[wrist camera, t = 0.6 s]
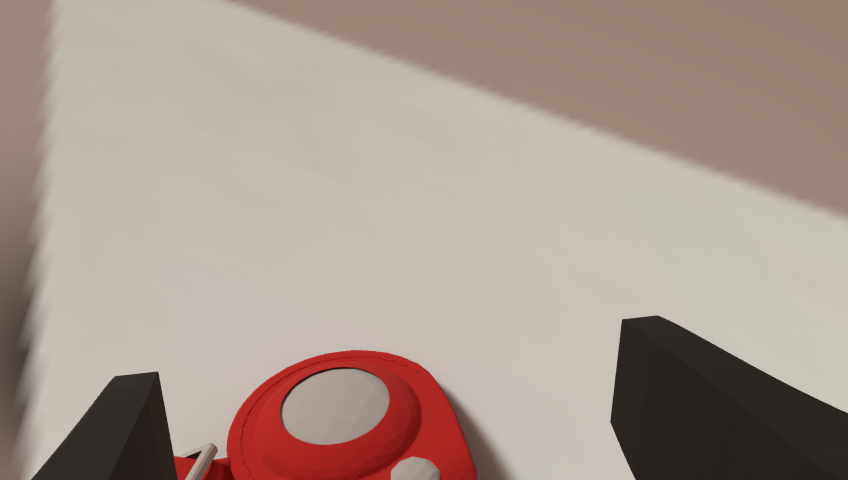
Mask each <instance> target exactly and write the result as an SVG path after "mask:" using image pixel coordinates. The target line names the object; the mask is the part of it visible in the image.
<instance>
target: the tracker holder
mask: <svg viewBox="0 0 848 480" xmlns="http://www.w3.org/2000/svg"><path fill="white" fill-rule="evenodd" d="M217 451H218V450H217V447H216V446H215V445H214V444H212V443H209V444H207V445H205V446H202V447H200V448H198V449H195V450H193V451H191V452H188V453H186V454H184V455H181V456H179V457H177V456H174V460H175V466H176V471H177V477H178V480H477V473H476V469H475V466H474V463H473V459H472V456H471V453H470V450H469V448H468V445H467V443H466V440H465V438H464V435H463V432H462V430H461V427H460V424H459V422H458V419H457V416H456V414H455V412H454V410H453V408H452V406H451V404H450V402H449V400H448V398H447V396H446V395H445V393H444V391H443V390H442V388H441V387H440V385H439V384H438V383H437V381H436V380H435V379H434V378H433V376H432V375H431V374H430V373H429V372H428V371H427V370H426V369H424V368H423V367H422V366H420V365H419V364H417V363H415V362H413V361H410V360H408V359H406V358H404V357H400V356H397V355H393V354H390V353H384V352H376V351H363V350H351V351H342V352H334V353H328V354H324V355H319V356H316V357H313V358H309V359H306V360H304V361H301V362H299V363H297V364H294V365H292V366H290V367H287V368H286V369H284V370H282V371H281V372H279V373H277V374H276V375H274V376H273V377H271V378H269V379H268V380H267V381H265V382H264V383H263V384H262V385H260V386H259V387H258V388H257V389H256V390H255V391H254V392H253V393H252V394H251V395H250V396H249V397H248V398H247V400H246V401H245V402H244V403H243V405H242V406H241V407H240V409H239V410H238V412H237V414H236V416H235V418H234V420H233V422H232V425H231V427H230V430H229V434H228V439H227V456H228V458H223V459H215V460H213V458H214V457H215V455H216V453H217Z"/></svg>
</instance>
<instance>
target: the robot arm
mask: <svg viewBox="0 0 848 480" xmlns="http://www.w3.org/2000/svg"><path fill="white" fill-rule="evenodd" d="M610 422H611V425H612V427H613V429H614V432H615V434H616V437H617V439H618V441H619V444H620V446H621V449H622V451H623V453H624V456H625V458H626V460H627V462H628V464H629V467H630V469H631V471H632V473H633V475H634V477H635V479H636V480H848V413H846V412H844V411H841V410H839V409H837V408H835V407H833V406H831V405H829V404H827V403H824V402H822V401H820V400H818V399H816V398H814V397H812V396H810V395H808V394H806V393H804V392H802V391H800V390H797V389H795V388H794V387H792V386H790V385H788V384H786V383H784V382H782V381H780V380H778V379H776V378H774V377H772V376H770V375H768V374H767V373H765V372H763V371H761V370H759V369H757V368H755V367H754V366H752V365H750V364H748V363H746V362H744V361H743V360H741V359H739V358H737V357H735V356H734V355H732V354H730V353H728V352H726V351H724V350H723V349H721V348H719V347H717V346H716V345H714V344H712V343H710V342H708V341H707V340H705V339H703V338H701V337H699V336H697V335H696V334H694V333H692V332H690V331H688V330H686V329H685V328H683V327H681V326H679V325H677V324H675V323H673V322H671V321H669V320H667V319H665V318H662V317H660V316H658V315H657V316H649V317H640V318H631V319H622V325H621V334H620V343H619V351H618V360H617V369H616V377H615V386H614V395H613V403H612V412H611V421H610ZM31 480H178V477H177V471H176V466H175V460H174V455H173V450H172V444H171V439H170V433H169V428H168V422H167V417H166V412H165V406H164V401H163V395H162V390H161V384H160V379H159V373H158V372H150V373H141V374H132V375H123V376H115V377H114V378H113V379H112V380H111V381H110V382H109V383H108V385H107V386H106V387H105V388H104V390H103V391H102V392H101V394H100V395H99V396H98V397H97V399H96V400H95V401H94V403H93V404H92V405H91V407H90V408H89V409H88V411H87V412H86V413H85V414H84V416H83V417H82V418H81V420H80V421H79V422H78V423H77V425H76V426H75V427H74V429H73V430H72V431H71V432H70V434H69V435H68V436H67V437H66V439H65V440H64V441H63V442H62V443H61V445H60V446H59V447H58V448H57V449H56V451H55V452H54V453H53V454H52V455H51V457H50V458H49V459H48V460H47V461H46V463H45V464H44V465H43V466H42V467H41V469H40V470H39V471H38V472H37V473H36V475H35V476H34V477H33V478H32V479H31Z"/></svg>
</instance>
